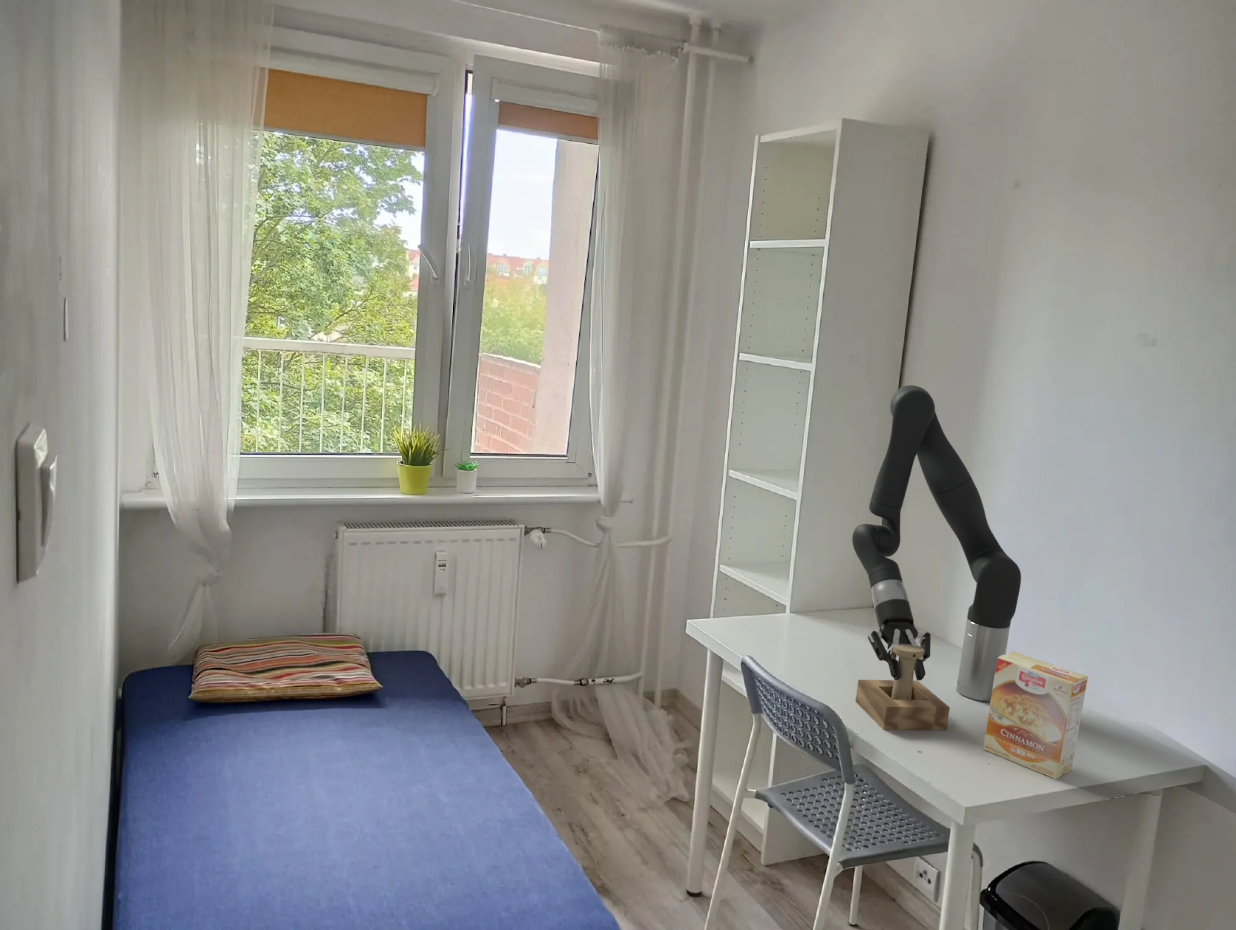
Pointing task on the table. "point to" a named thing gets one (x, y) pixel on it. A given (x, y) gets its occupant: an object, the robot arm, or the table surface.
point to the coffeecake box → (1035, 714)
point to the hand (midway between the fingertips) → (909, 678)
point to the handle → (905, 670)
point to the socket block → (902, 706)
